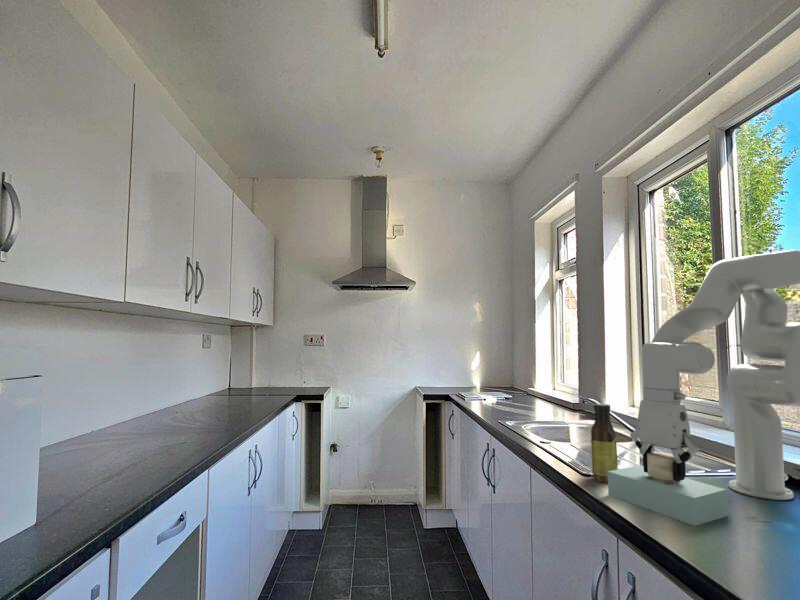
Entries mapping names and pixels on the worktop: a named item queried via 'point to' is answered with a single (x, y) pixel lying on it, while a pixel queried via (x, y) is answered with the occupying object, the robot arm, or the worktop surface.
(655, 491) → the block
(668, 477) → the pin
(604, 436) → the sauce bottle
